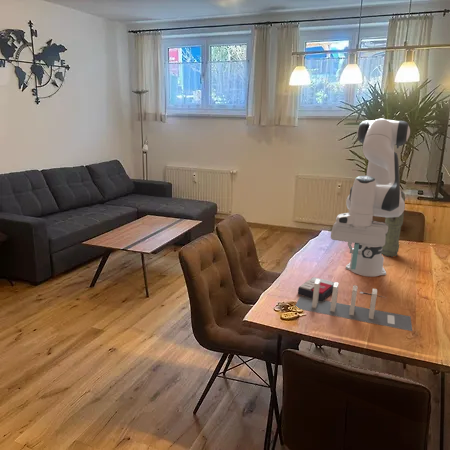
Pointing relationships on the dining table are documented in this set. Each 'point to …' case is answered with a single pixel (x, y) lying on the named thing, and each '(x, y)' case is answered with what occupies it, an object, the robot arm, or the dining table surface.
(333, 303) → the domino
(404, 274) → the dining table surface
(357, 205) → the robot arm
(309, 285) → the calculator
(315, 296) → the domino
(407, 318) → the domino mat
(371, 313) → the domino
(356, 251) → the domino
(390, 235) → the thermos
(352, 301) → the domino
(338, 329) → the dining table surface
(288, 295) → the dining table surface
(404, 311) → the dining table surface
